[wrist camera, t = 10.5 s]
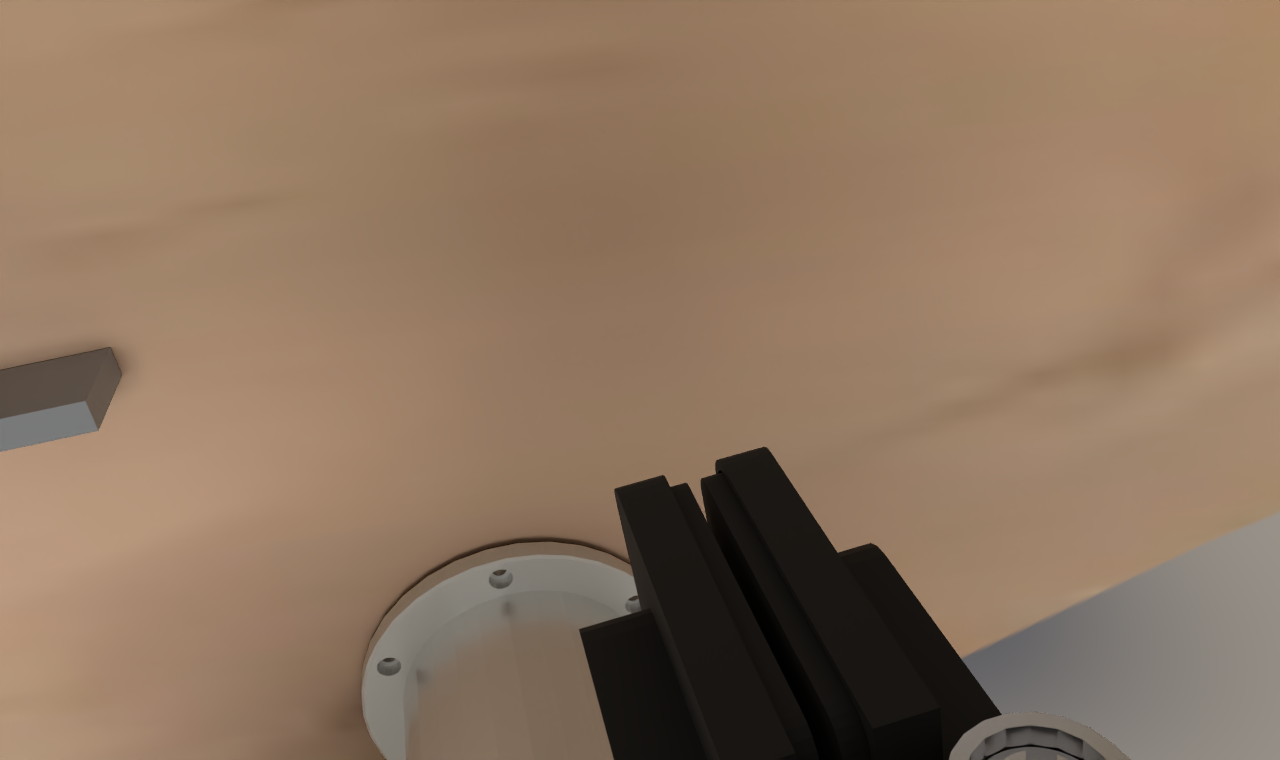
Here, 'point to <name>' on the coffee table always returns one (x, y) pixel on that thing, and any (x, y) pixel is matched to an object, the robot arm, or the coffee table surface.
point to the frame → (56, 398)
